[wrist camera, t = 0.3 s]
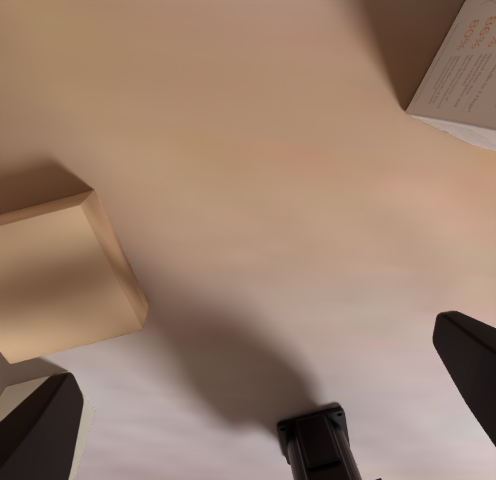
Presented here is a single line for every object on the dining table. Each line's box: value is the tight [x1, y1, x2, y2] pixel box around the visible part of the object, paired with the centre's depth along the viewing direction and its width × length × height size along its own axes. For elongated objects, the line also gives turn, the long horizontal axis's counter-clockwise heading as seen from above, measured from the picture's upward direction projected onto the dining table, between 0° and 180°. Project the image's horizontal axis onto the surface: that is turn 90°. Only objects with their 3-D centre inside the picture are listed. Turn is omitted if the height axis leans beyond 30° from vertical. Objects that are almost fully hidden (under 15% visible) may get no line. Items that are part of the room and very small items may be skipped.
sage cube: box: [0, 371, 96, 480], centre depth 25 cm, size 5×5×6 cm
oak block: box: [0, 190, 149, 364], centre depth 21 cm, size 9×9×3 cm
